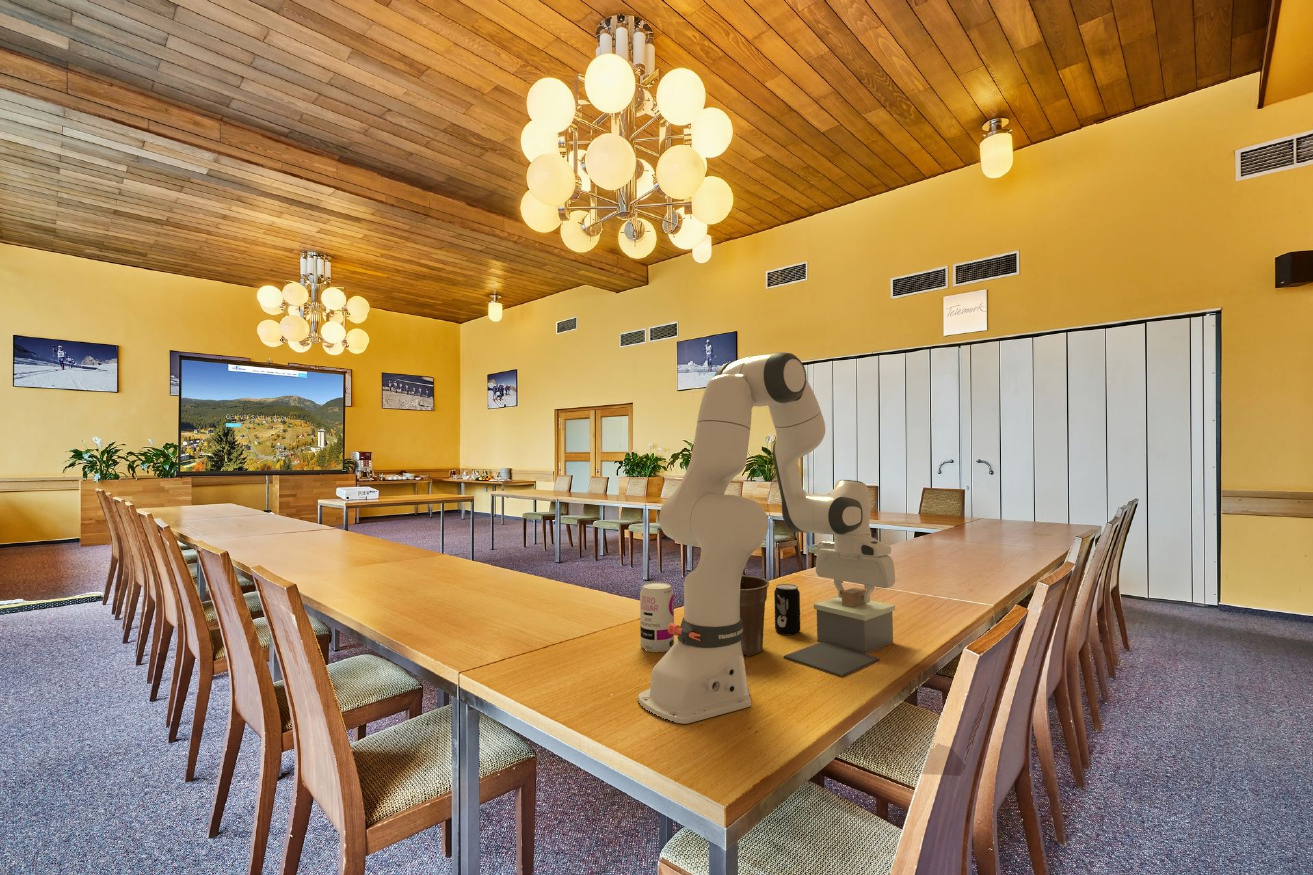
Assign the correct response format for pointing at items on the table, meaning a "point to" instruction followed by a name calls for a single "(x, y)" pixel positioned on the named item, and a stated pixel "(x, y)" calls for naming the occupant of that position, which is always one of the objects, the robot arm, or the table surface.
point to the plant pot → (752, 613)
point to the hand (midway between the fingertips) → (853, 600)
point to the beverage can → (787, 609)
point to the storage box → (855, 631)
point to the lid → (854, 605)
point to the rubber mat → (831, 659)
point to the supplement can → (656, 616)
